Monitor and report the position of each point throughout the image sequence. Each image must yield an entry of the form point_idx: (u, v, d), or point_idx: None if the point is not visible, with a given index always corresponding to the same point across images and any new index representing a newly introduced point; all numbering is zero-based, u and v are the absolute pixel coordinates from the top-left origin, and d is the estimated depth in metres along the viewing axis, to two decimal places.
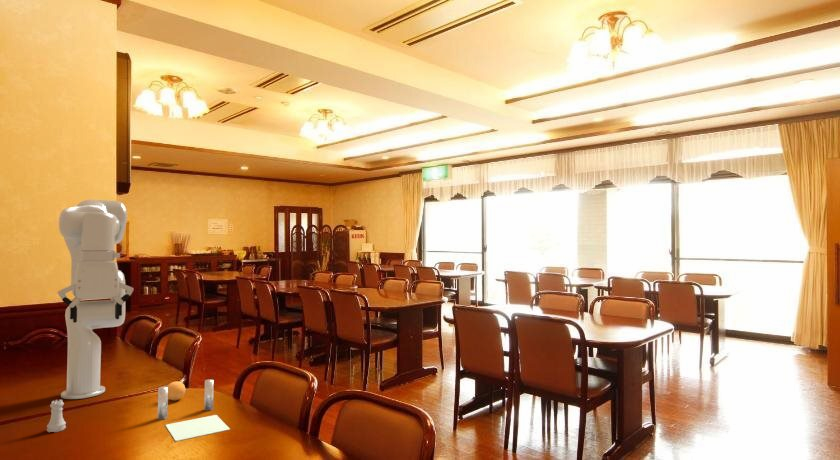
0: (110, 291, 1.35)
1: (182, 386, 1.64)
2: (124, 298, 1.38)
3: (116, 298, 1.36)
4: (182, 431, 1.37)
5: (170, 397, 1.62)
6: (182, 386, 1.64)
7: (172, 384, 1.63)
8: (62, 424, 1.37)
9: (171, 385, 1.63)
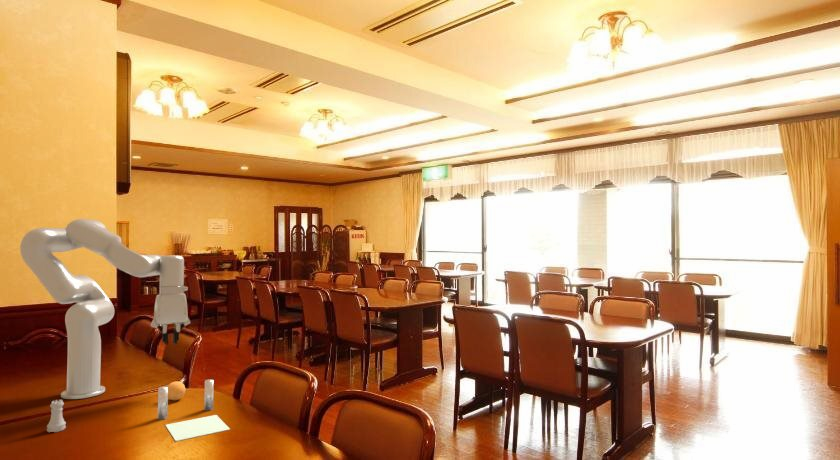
0: (181, 317, 1.72)
1: (182, 386, 1.64)
2: (180, 327, 1.74)
3: (178, 325, 1.73)
4: (182, 431, 1.37)
5: (170, 397, 1.62)
6: (182, 386, 1.64)
7: (172, 384, 1.63)
8: (62, 424, 1.37)
9: (171, 385, 1.63)
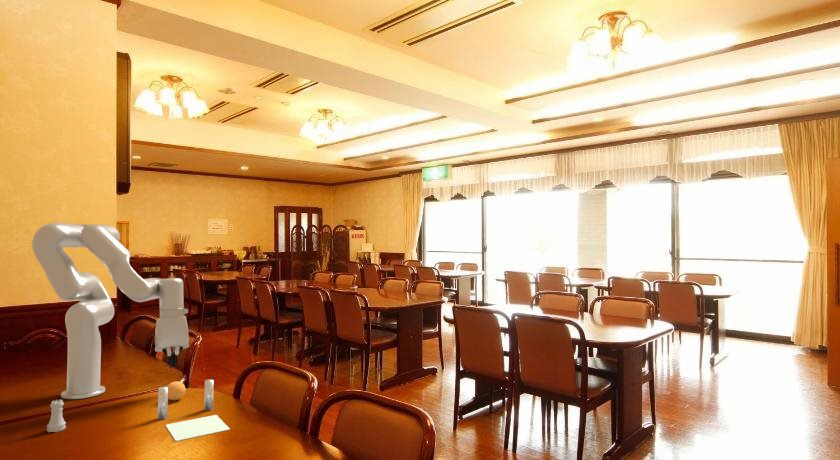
0: (182, 340, 1.72)
1: (182, 386, 1.64)
2: (179, 349, 1.73)
3: (177, 348, 1.72)
4: (182, 431, 1.37)
5: (170, 397, 1.62)
6: (182, 386, 1.64)
7: (172, 384, 1.63)
8: (62, 424, 1.37)
9: (171, 385, 1.63)
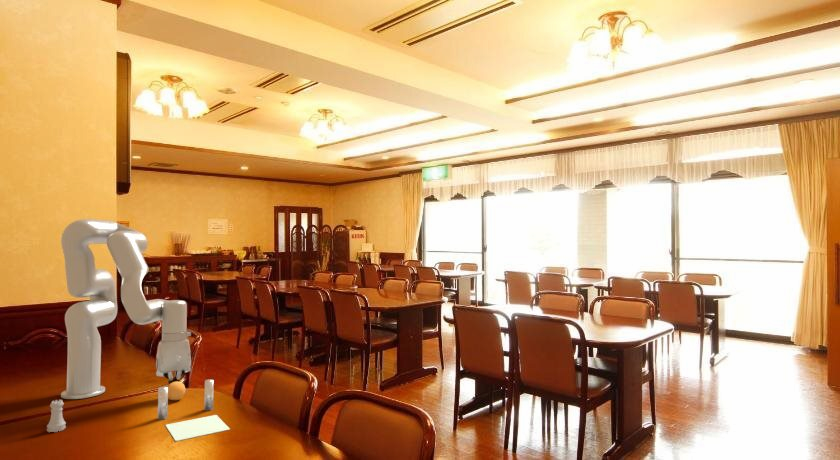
0: (184, 364, 1.68)
1: (182, 386, 1.64)
2: (180, 374, 1.69)
3: (179, 373, 1.68)
4: (182, 431, 1.37)
5: (170, 397, 1.62)
6: (182, 386, 1.64)
7: (172, 384, 1.63)
8: (62, 424, 1.37)
9: (171, 385, 1.63)
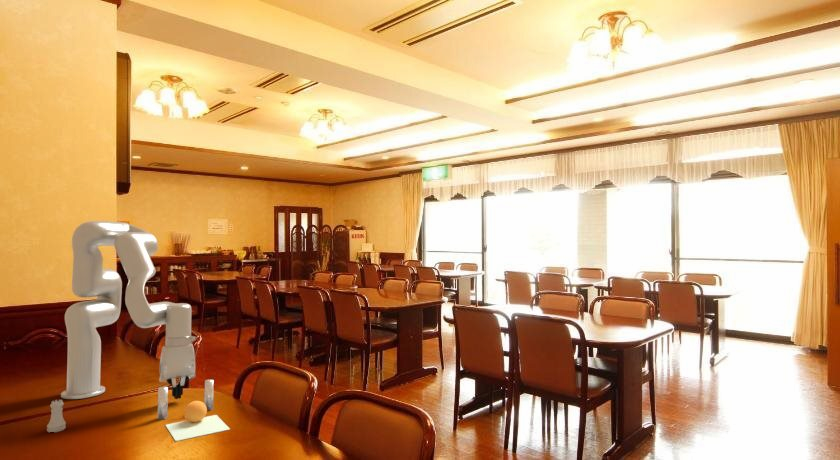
0: (188, 370, 1.62)
1: (202, 418, 1.45)
2: (184, 380, 1.63)
3: (182, 379, 1.62)
4: (182, 431, 1.37)
5: None
6: None
7: (193, 419, 1.42)
8: (62, 424, 1.37)
9: (192, 419, 1.42)
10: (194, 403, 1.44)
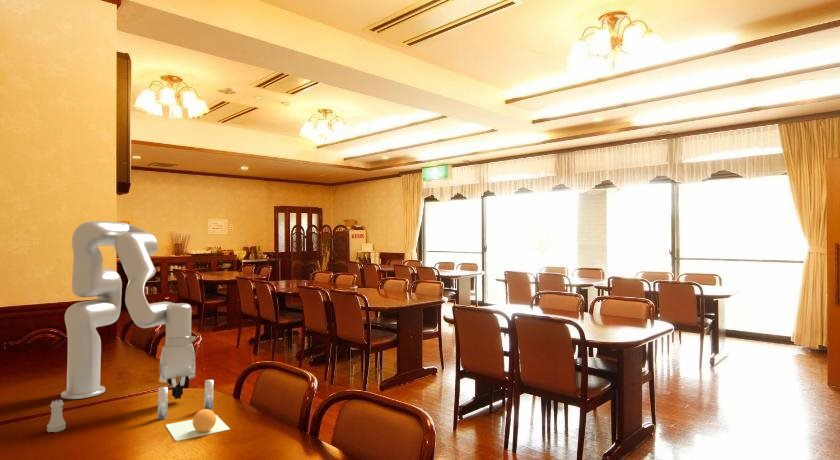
0: (188, 370, 1.62)
1: None
2: (184, 380, 1.63)
3: (182, 379, 1.62)
4: (182, 431, 1.37)
5: (198, 417, 1.35)
6: None
7: None
8: (62, 424, 1.37)
9: None
10: None
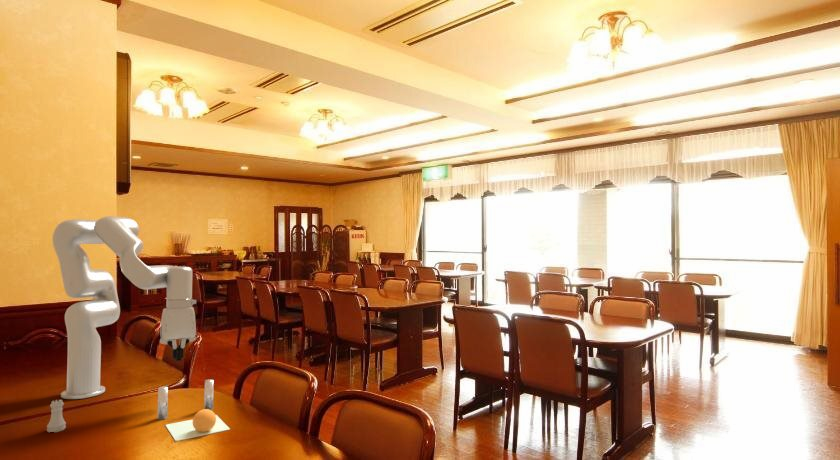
0: (189, 332, 1.62)
1: None
2: (185, 342, 1.63)
3: (183, 341, 1.62)
4: (182, 431, 1.37)
5: (198, 417, 1.35)
6: None
7: None
8: (62, 424, 1.37)
9: None
10: None
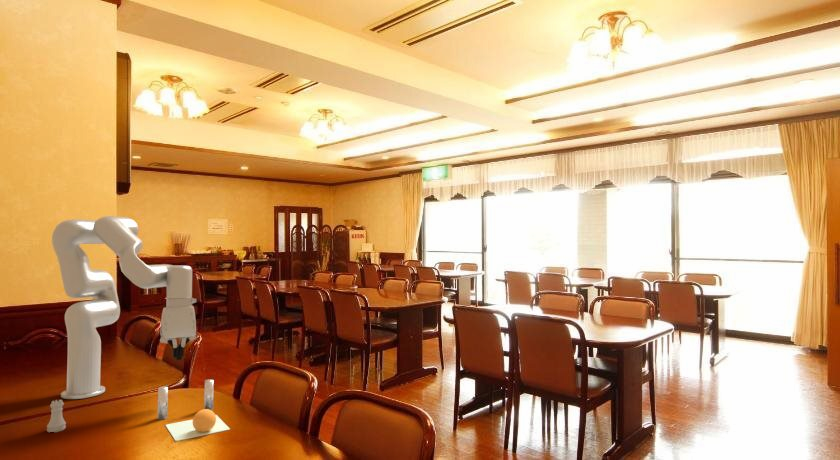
0: (189, 331, 1.62)
1: None
2: (185, 341, 1.63)
3: (183, 340, 1.62)
4: (182, 431, 1.37)
5: (198, 417, 1.35)
6: None
7: None
8: (62, 424, 1.37)
9: None
10: None
